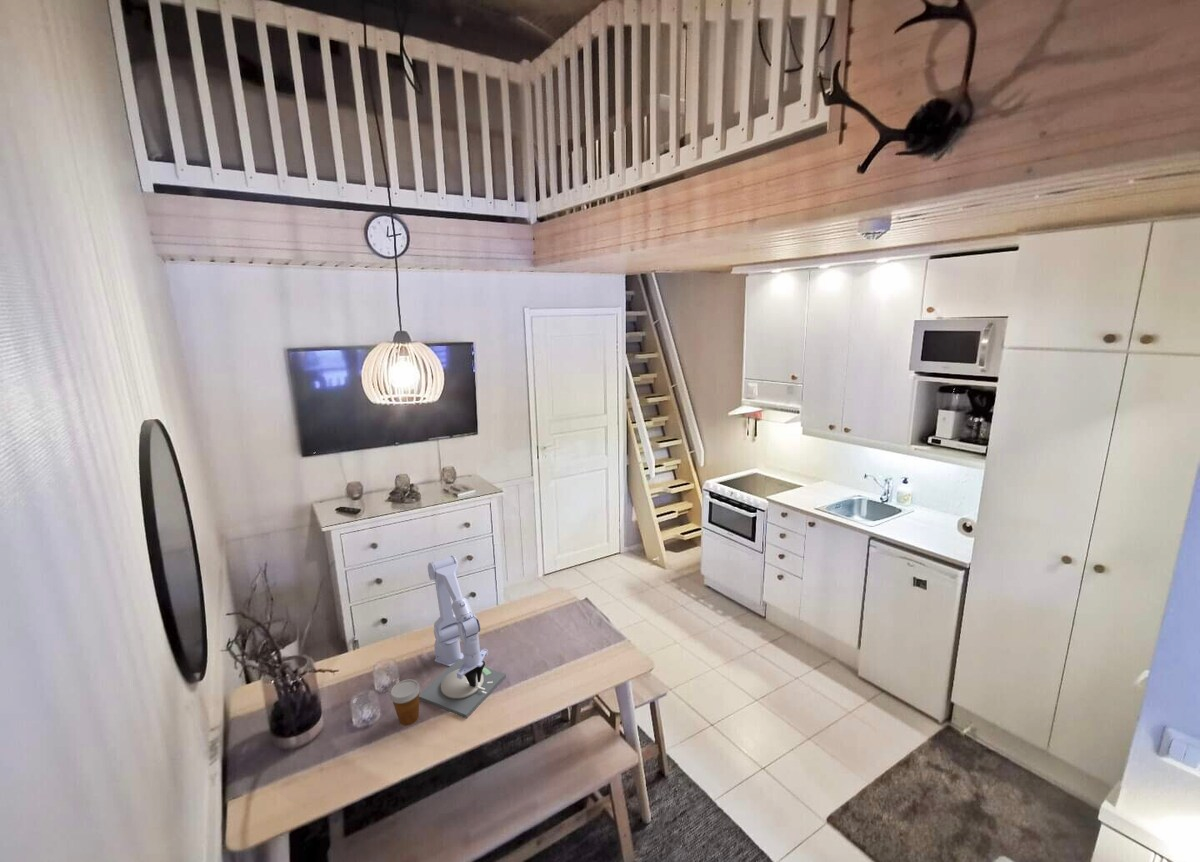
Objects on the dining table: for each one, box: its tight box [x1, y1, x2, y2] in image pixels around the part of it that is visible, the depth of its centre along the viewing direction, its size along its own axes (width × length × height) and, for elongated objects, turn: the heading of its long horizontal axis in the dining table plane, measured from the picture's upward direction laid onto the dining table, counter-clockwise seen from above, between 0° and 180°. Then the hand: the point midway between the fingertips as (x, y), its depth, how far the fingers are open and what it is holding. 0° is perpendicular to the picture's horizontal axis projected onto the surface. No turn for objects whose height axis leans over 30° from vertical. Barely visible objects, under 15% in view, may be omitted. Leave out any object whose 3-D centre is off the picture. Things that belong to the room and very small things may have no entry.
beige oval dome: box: [441, 669, 485, 699], centre depth 191 cm, size 18×15×6 cm
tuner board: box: [419, 658, 507, 720], centre depth 193 cm, size 22×22×2 cm
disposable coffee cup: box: [389, 678, 421, 727], centre depth 178 cm, size 10×10×12 cm
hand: (475, 683), depth 189 cm, fingers closed on beige oval dome, 2 cm apart
